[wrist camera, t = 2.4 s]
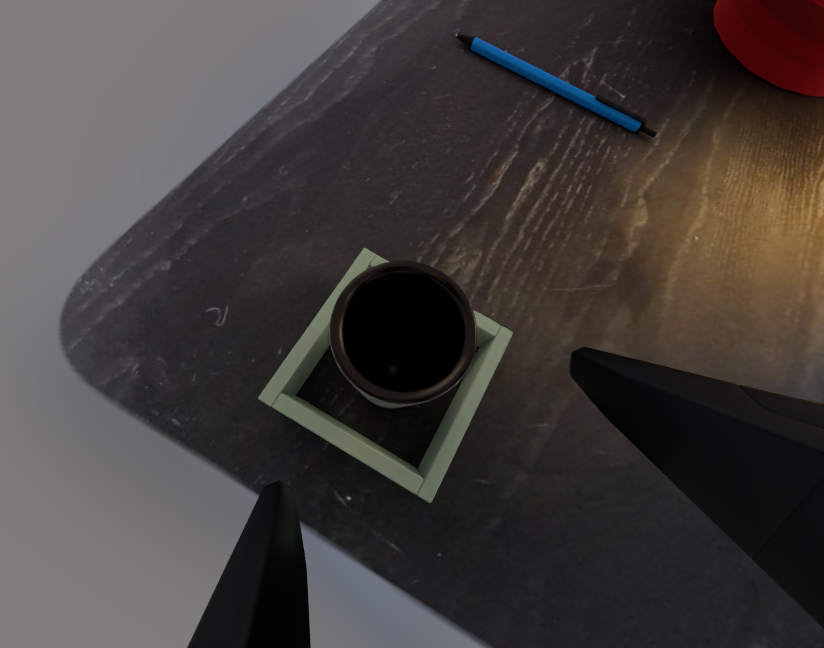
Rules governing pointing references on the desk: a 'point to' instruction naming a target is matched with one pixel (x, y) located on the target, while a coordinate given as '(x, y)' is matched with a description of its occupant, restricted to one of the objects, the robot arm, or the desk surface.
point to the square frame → (415, 480)
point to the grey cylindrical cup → (403, 333)
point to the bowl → (776, 40)
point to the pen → (559, 86)
